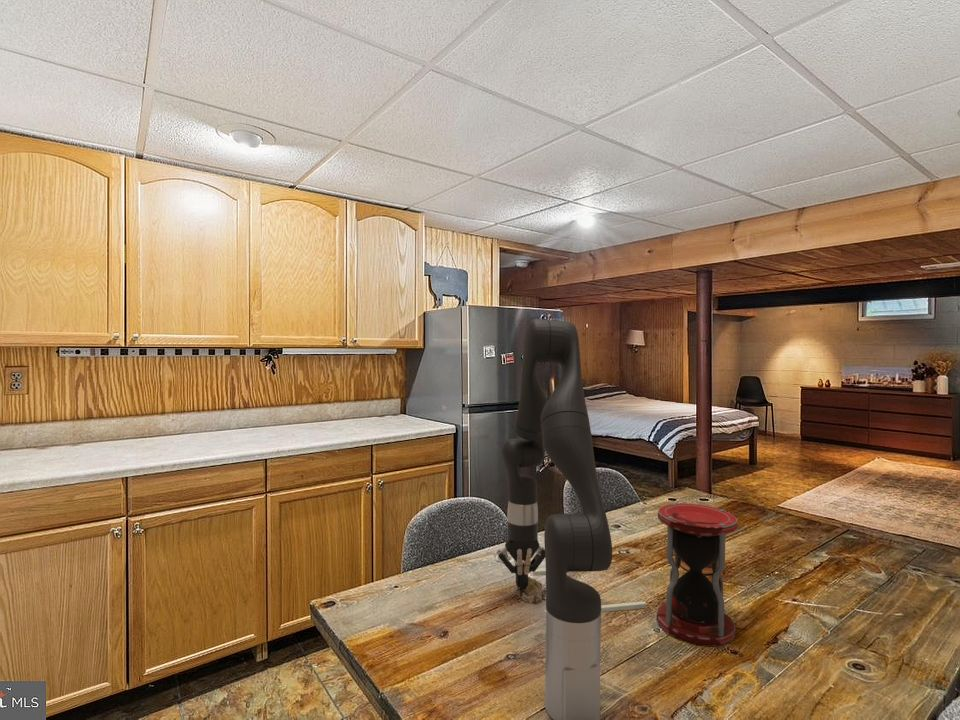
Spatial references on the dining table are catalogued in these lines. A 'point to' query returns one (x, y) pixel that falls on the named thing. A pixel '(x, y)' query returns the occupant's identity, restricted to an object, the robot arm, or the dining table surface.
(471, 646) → the dining table surface
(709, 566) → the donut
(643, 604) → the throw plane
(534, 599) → the mineral rock
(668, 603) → the hourglass
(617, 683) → the dining table surface
